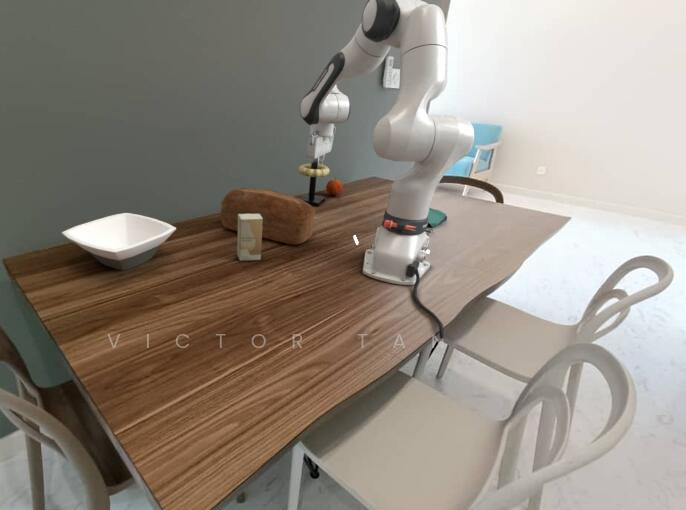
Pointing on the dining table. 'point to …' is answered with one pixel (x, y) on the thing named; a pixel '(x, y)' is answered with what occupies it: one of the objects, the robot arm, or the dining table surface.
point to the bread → (270, 214)
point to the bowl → (121, 239)
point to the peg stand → (313, 191)
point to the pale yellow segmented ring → (313, 170)
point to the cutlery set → (435, 218)
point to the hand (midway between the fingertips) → (318, 166)
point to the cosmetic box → (249, 236)
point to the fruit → (334, 187)
